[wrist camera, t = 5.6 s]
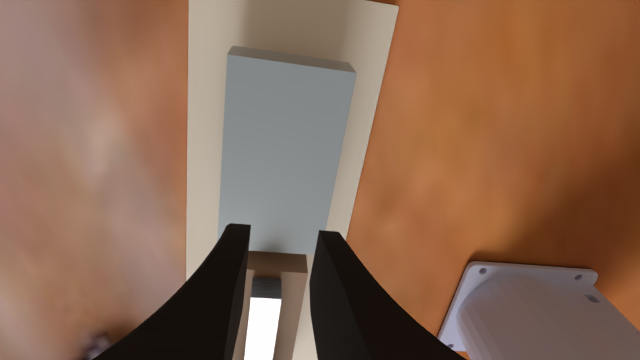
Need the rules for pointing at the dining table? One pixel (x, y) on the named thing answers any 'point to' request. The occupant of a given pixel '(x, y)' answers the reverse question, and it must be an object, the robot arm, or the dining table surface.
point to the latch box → (208, 118)
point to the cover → (282, 145)
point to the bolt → (263, 318)
